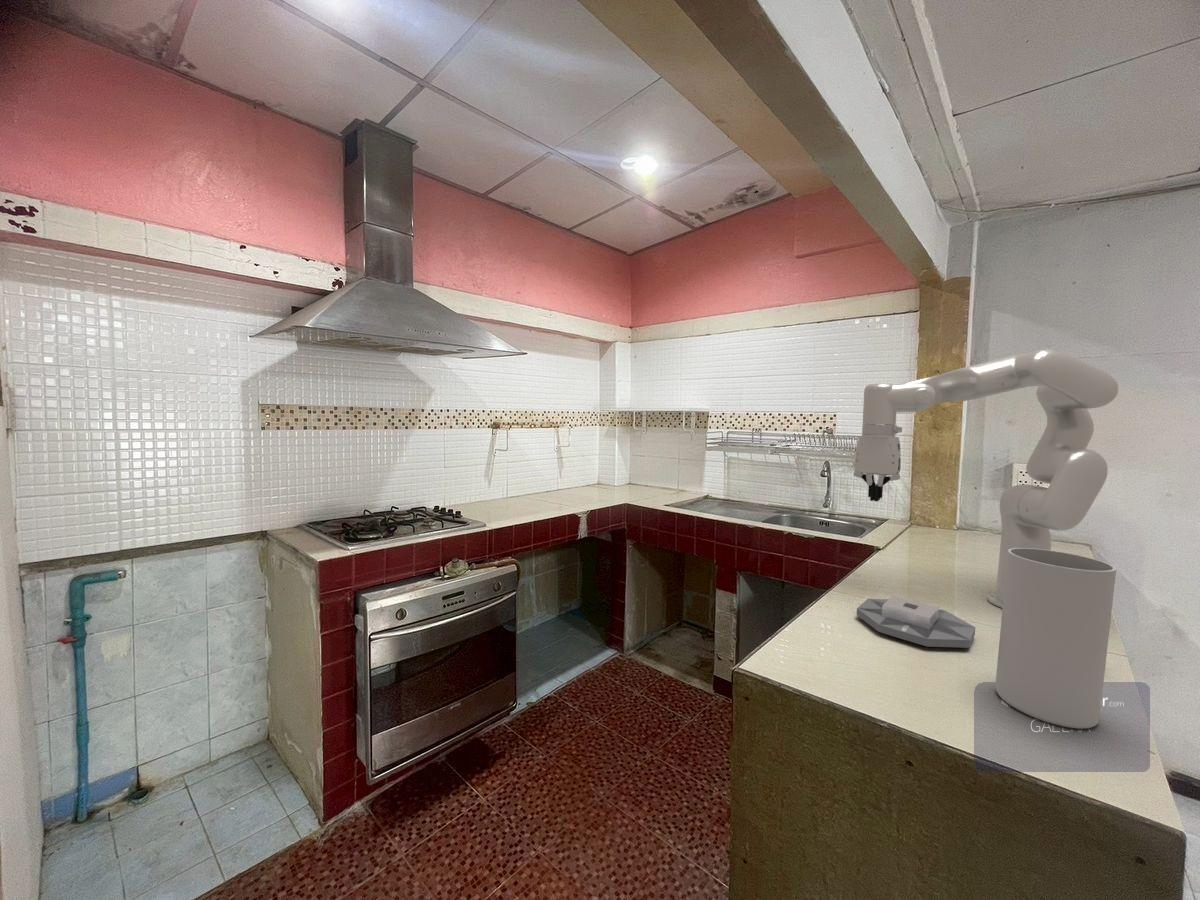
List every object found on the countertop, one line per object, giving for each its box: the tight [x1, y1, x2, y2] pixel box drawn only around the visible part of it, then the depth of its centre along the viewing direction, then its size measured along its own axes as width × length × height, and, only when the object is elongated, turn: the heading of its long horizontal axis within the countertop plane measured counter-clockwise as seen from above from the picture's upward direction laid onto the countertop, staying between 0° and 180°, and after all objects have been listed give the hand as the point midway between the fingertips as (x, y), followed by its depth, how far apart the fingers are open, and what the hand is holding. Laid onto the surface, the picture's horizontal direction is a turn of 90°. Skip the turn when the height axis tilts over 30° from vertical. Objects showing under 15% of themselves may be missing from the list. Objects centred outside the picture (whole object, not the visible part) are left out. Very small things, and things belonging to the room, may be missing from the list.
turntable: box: [856, 598, 976, 649], centre depth 106 cm, size 21×21×2 cm
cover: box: [882, 595, 940, 629], centre depth 106 cm, size 9×9×3 cm
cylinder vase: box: [994, 548, 1117, 730], centre depth 77 cm, size 12×12×25 cm
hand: (875, 500), depth 124 cm, fingers closed
